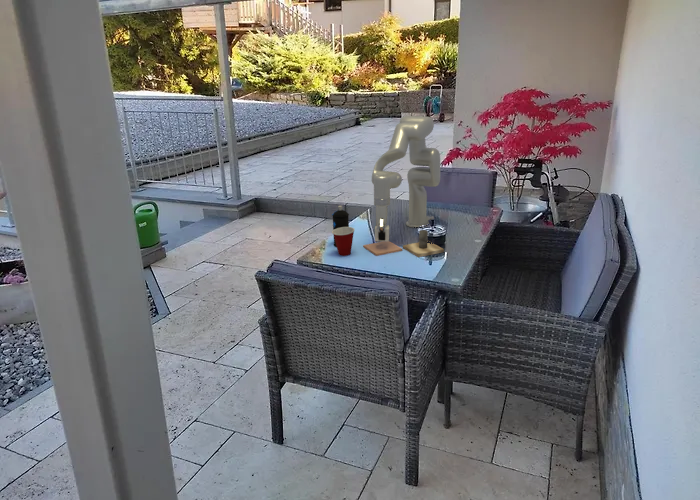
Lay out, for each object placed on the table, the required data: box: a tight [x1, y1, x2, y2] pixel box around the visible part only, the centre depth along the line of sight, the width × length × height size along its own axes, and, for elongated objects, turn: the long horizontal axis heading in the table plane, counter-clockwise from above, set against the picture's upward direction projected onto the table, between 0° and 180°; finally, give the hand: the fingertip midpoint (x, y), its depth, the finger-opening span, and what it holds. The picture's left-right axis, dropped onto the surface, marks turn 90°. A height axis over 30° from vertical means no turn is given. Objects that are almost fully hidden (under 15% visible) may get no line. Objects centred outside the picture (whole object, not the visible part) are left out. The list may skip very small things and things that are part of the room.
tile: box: [362, 240, 403, 257], centre depth 245 cm, size 14×14×1 cm
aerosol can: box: [331, 205, 350, 248], centre depth 249 cm, size 8×8×20 cm
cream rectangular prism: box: [374, 224, 390, 242], centre depth 242 cm, size 7×7×6 cm
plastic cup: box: [331, 226, 355, 257], centre depth 238 cm, size 11×11×12 cm
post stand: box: [402, 229, 445, 258], centre depth 240 cm, size 14×14×10 cm
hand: (382, 237), depth 243 cm, fingers closed on cream rectangular prism, 6 cm apart
